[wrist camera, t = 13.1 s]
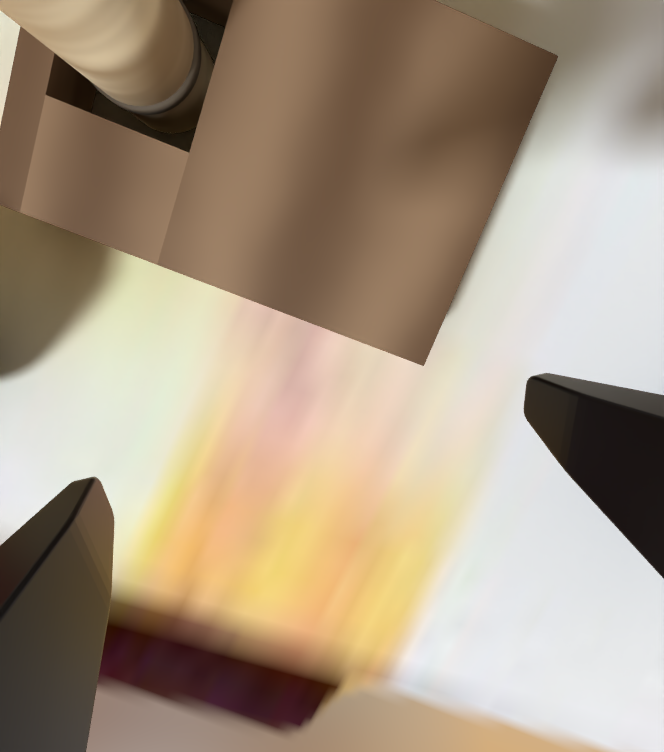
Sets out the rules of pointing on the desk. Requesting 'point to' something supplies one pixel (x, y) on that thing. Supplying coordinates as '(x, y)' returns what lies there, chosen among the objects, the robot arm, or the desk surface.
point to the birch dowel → (128, 53)
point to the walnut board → (296, 159)
